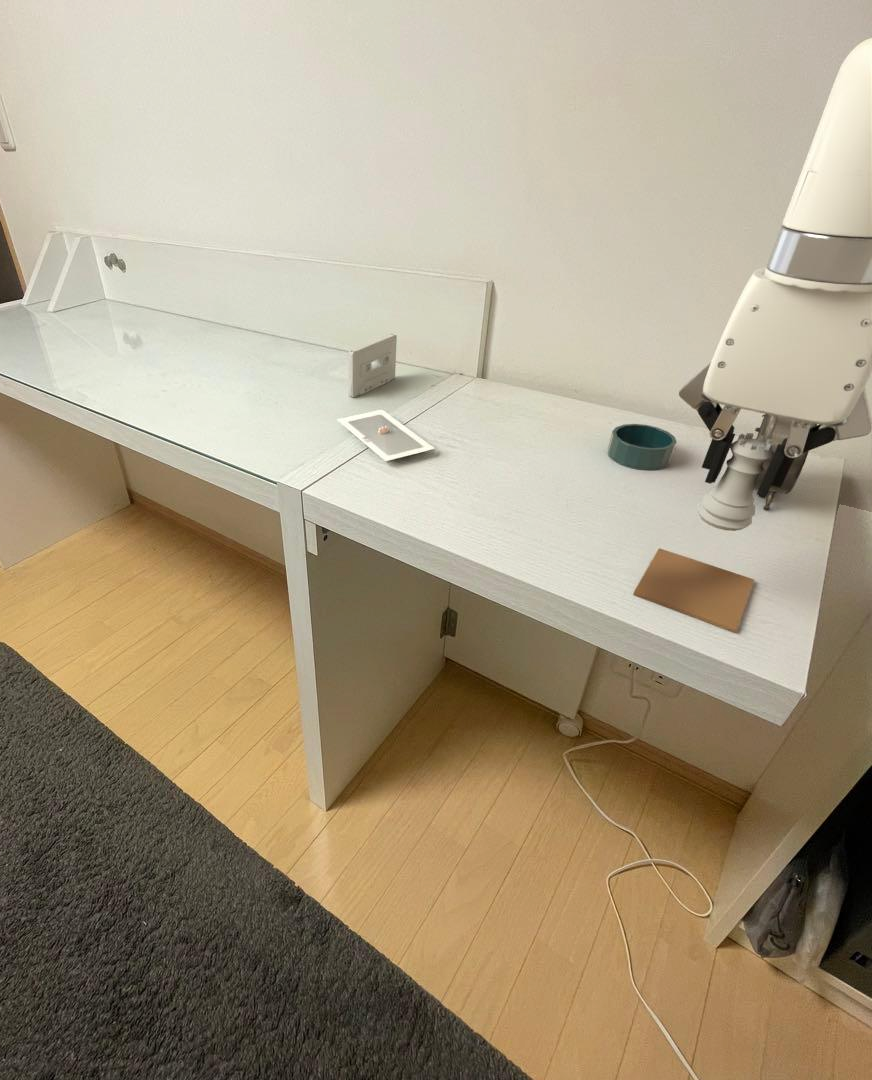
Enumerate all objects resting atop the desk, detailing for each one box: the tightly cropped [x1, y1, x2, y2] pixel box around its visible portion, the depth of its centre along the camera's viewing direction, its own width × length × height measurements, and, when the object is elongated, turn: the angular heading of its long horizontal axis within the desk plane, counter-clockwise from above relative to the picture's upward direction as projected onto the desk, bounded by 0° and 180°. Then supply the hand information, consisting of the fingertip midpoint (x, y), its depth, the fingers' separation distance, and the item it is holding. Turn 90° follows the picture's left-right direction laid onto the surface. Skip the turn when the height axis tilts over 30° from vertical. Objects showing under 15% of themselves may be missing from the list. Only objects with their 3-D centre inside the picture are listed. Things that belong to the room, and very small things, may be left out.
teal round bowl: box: [606, 423, 677, 471], centre depth 82 cm, size 8×8×3 cm
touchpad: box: [336, 409, 436, 462], centre depth 88 cm, size 8×15×2 cm, turn 25°
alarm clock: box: [754, 414, 818, 511], centre depth 70 cm, size 11×5×16 cm, turn 147°
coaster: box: [632, 547, 755, 634], centre depth 60 cm, size 9×9×1 cm
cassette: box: [348, 333, 398, 398], centre depth 103 cm, size 12×2×8 cm, turn 139°
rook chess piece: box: [696, 432, 774, 532], centre depth 53 cm, size 4×4×8 cm
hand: (737, 482), depth 53 cm, fingers closed on rook chess piece, 3 cm apart
